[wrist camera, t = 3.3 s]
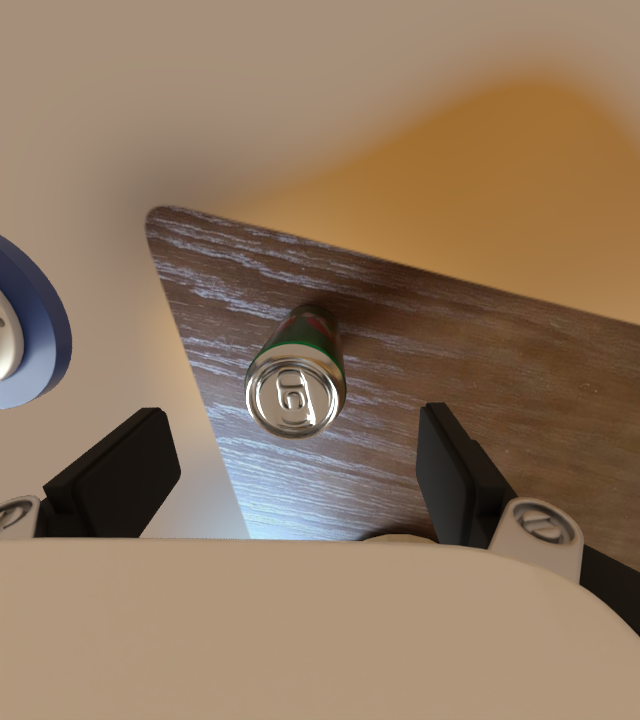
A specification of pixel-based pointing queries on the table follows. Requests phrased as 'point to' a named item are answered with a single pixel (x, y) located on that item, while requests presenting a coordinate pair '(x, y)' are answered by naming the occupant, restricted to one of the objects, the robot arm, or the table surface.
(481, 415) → the table surface
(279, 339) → the soda can
